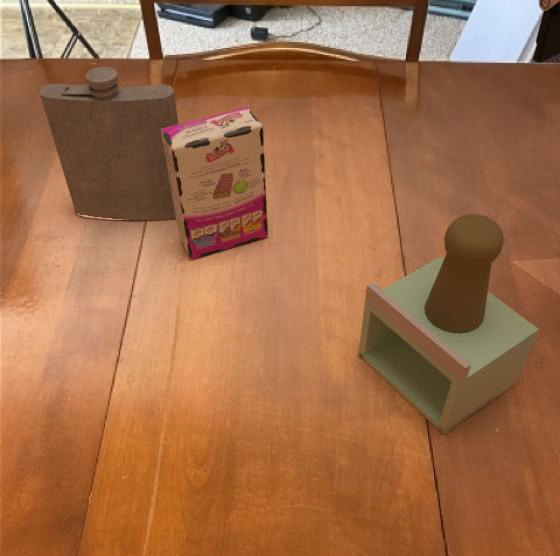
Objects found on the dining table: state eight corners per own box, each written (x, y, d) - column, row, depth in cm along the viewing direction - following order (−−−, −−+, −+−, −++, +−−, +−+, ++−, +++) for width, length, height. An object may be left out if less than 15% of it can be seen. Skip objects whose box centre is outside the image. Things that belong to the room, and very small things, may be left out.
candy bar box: (254, 216, 93) (249, 104, 80) (269, 237, 90) (266, 125, 77) (176, 238, 90) (158, 126, 77) (189, 261, 87) (172, 148, 74)
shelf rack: (427, 312, 81) (444, 241, 73) (515, 384, 74) (545, 315, 66) (357, 355, 77) (366, 284, 69) (443, 435, 70) (465, 368, 62)
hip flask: (191, 204, 95) (172, 63, 79) (188, 223, 92) (168, 81, 76) (78, 202, 95) (37, 62, 79) (71, 221, 92) (28, 80, 77)
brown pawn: (491, 331, 67) (521, 245, 59) (431, 335, 67) (452, 249, 58) (475, 288, 71) (501, 202, 62) (418, 292, 71) (436, 206, 62)
